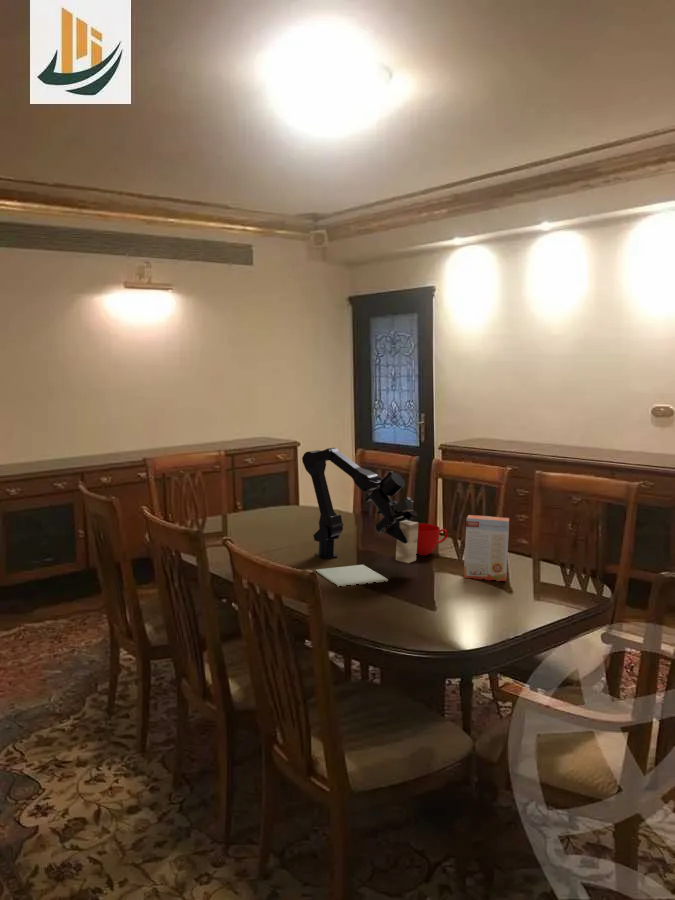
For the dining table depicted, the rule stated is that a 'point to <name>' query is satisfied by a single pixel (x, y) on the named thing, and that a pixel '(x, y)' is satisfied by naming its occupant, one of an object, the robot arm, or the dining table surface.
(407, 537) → the birch block
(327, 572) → the sage mat
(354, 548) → the dining table surface
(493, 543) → the cracker box
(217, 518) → the dining table surface
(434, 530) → the ceramic cup
